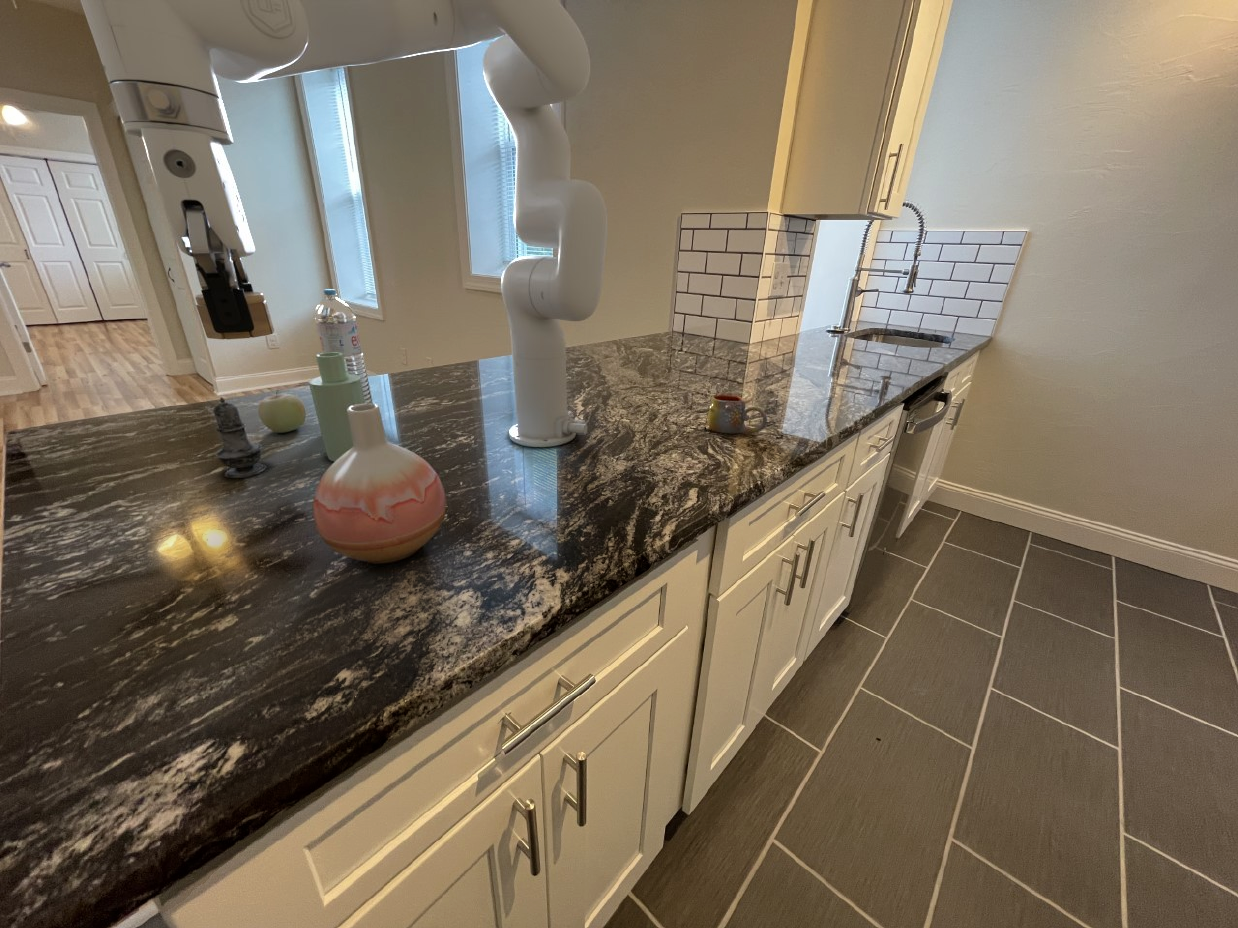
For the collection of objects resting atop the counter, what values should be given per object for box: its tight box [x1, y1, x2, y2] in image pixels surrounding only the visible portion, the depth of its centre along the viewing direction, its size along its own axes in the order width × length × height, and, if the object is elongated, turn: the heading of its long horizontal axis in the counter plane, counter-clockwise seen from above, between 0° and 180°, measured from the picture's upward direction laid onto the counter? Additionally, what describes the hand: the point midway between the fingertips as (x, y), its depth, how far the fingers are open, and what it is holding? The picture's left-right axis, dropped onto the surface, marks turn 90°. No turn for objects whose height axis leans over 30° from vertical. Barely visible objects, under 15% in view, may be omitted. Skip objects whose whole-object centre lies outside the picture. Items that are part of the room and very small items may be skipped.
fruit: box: [257, 389, 307, 434], centre depth 91 cm, size 8×7×8 cm
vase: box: [312, 403, 447, 565], centre depth 54 cm, size 14×14×18 cm
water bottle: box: [313, 288, 374, 404], centre depth 94 cm, size 7×7×25 cm
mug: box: [706, 394, 768, 435], centre depth 95 cm, size 12×7×7 cm, turn 50°
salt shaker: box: [212, 397, 267, 479], centre depth 73 cm, size 6×6×12 cm
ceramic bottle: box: [308, 352, 365, 463], centre depth 79 cm, size 7×7×17 cm
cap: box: [194, 291, 275, 340], centre depth 50 cm, size 6×6×4 cm
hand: (239, 325), depth 51 cm, fingers closed on cap, 5 cm apart
